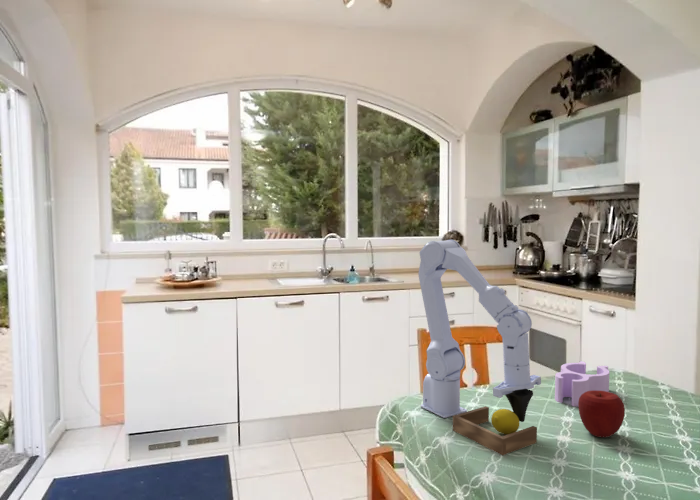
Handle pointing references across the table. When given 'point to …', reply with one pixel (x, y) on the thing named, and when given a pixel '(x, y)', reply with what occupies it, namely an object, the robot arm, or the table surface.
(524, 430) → the frame
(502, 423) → the lemon
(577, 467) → the table surface
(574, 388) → the clip
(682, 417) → the table surface
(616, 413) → the apple
